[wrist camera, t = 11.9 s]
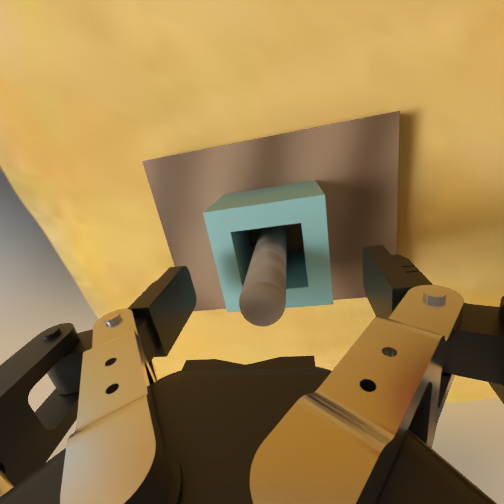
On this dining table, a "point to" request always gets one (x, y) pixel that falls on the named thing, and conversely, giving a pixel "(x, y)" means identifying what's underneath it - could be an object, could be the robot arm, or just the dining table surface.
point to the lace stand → (288, 236)
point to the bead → (268, 215)
